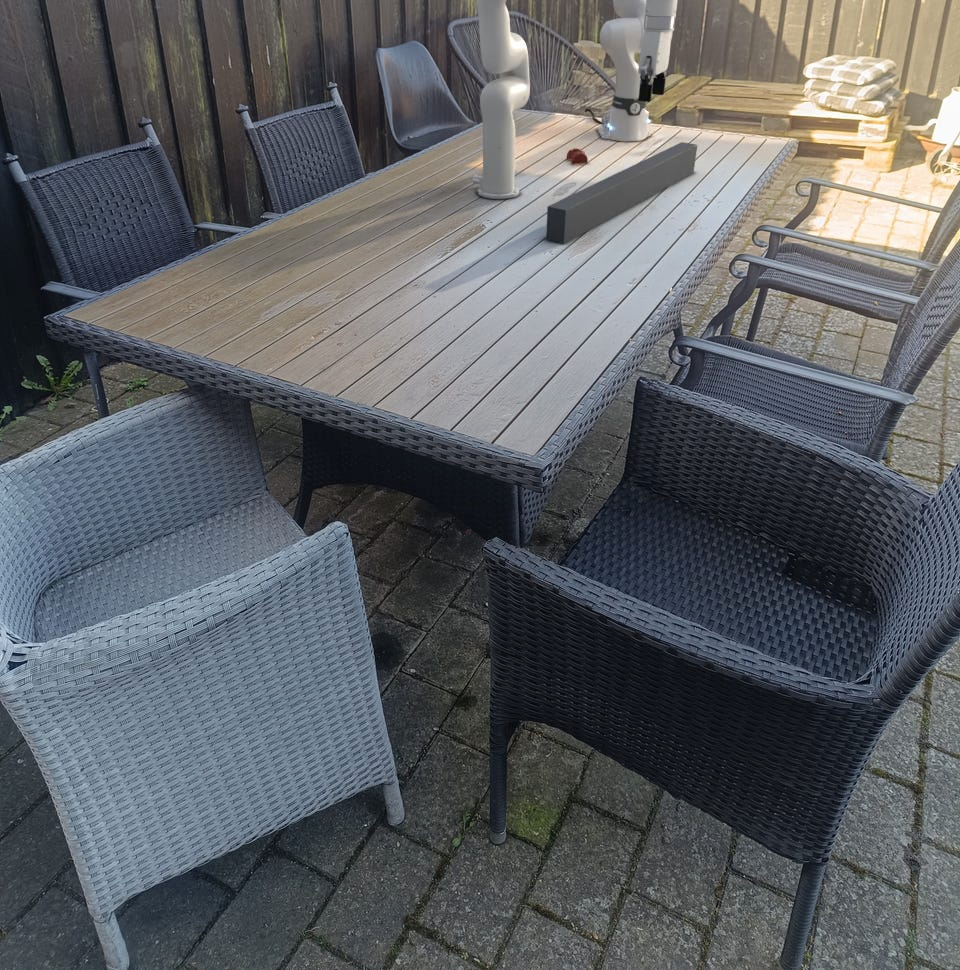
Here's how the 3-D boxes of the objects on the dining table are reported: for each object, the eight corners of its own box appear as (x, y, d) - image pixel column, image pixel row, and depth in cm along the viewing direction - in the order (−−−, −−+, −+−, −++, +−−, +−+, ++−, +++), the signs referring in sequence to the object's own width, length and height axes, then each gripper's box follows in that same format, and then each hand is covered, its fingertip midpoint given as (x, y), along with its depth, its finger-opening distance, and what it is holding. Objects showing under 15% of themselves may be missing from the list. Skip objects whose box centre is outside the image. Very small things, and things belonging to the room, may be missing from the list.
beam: (563, 243, 220) (565, 210, 215) (546, 239, 223) (547, 206, 217) (693, 172, 274) (697, 144, 268) (677, 170, 276) (681, 142, 271)
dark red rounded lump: (581, 144, 285) (589, 151, 279) (580, 157, 288) (588, 164, 281) (565, 146, 284) (573, 152, 278) (565, 159, 287) (572, 165, 280)
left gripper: (657, 18, 217) (649, 90, 227) (632, 26, 205) (625, 102, 215) (685, 20, 214) (676, 93, 224) (661, 28, 202) (653, 105, 212)
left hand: (651, 97), depth 219 cm, fingers open, 9 cm apart
